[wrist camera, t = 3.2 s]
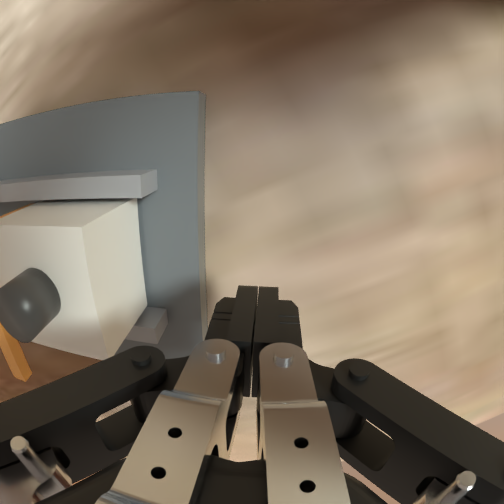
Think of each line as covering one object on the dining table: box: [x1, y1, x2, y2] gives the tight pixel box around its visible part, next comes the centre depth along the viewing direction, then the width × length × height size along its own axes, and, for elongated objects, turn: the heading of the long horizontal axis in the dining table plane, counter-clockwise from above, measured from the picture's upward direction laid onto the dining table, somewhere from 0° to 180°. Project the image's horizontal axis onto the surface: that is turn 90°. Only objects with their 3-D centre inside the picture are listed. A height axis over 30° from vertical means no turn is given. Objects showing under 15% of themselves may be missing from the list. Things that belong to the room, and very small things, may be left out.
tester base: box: [0, 91, 208, 359], centre depth 16 cm, size 16×24×4 cm, turn 88°
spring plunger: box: [0, 198, 147, 360], centre depth 12 cm, size 6×6×7 cm
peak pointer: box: [0, 203, 35, 382], centre depth 13 cm, size 12×1×5 cm, turn 178°
